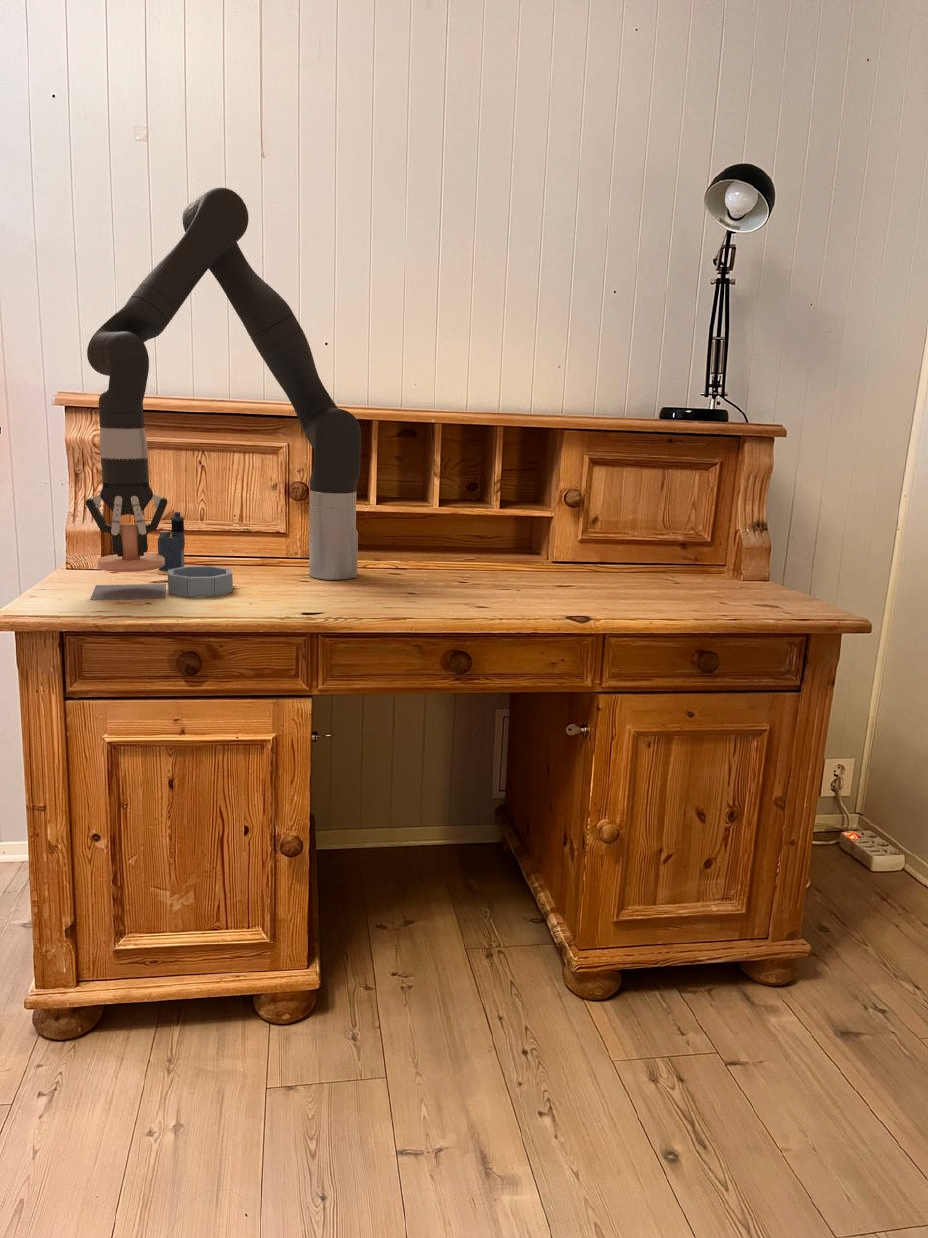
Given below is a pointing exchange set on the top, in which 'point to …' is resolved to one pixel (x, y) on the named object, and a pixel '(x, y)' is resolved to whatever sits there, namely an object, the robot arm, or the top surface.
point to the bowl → (200, 581)
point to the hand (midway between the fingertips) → (130, 555)
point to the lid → (130, 554)
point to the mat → (129, 592)
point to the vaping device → (172, 544)
